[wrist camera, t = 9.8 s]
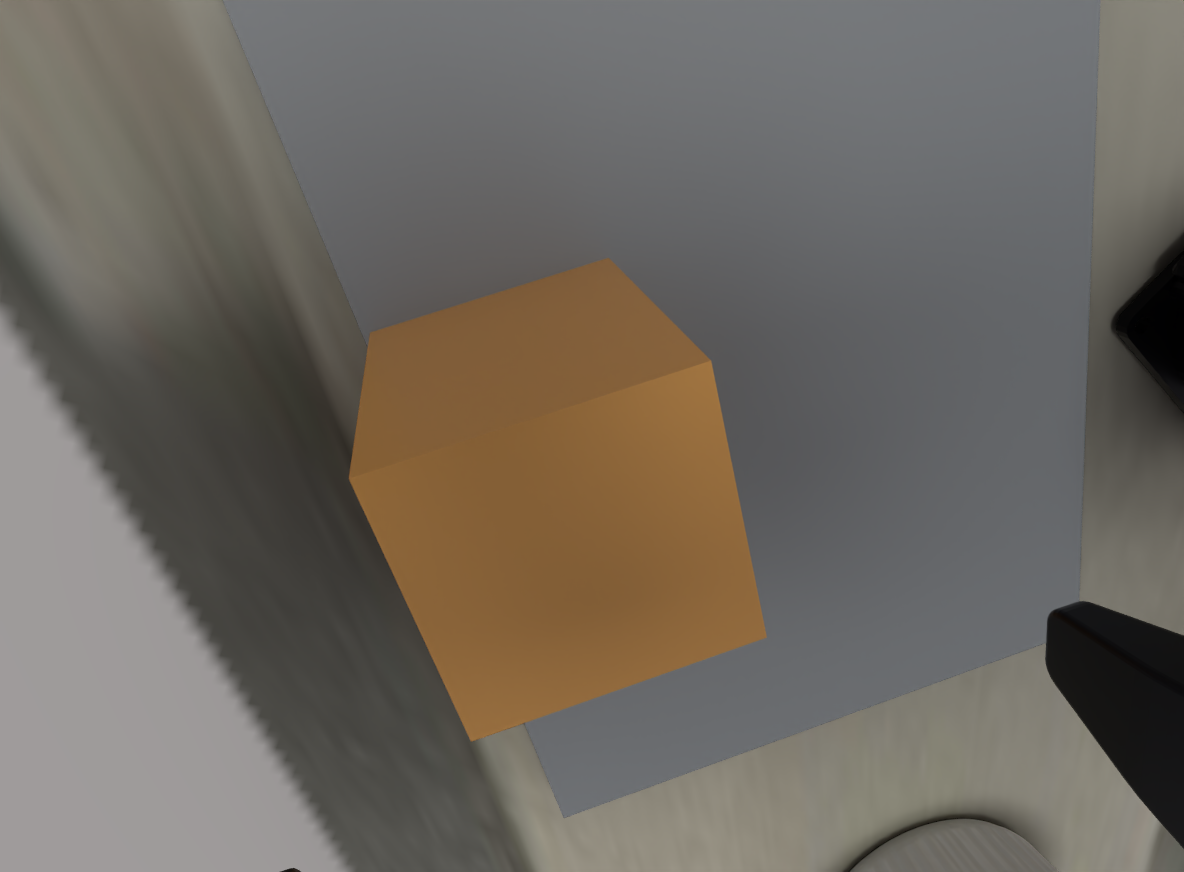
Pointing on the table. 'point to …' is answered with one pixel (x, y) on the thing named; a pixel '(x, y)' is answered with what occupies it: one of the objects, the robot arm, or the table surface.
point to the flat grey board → (757, 294)
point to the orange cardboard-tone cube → (553, 494)
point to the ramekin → (956, 850)
